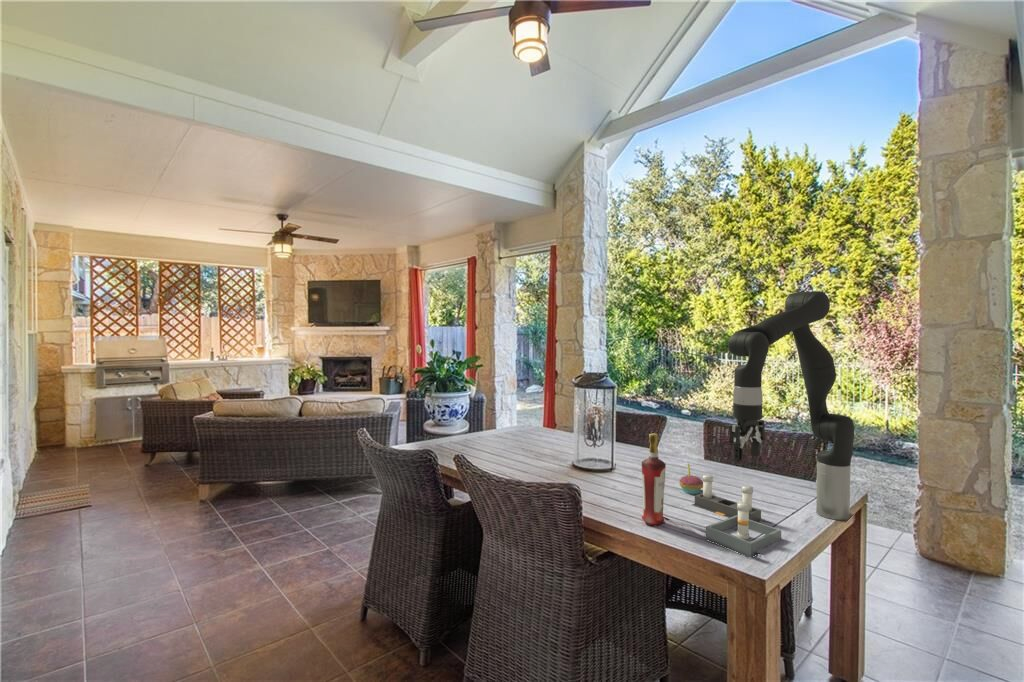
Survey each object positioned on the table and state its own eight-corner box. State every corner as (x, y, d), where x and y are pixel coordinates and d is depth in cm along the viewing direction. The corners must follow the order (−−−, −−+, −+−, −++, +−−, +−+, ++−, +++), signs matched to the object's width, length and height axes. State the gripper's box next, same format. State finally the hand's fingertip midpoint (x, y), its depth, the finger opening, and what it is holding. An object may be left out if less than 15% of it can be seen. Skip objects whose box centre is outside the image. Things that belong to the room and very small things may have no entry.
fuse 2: (745, 515, 158) (745, 484, 157) (754, 519, 155) (755, 487, 155) (739, 518, 156) (739, 486, 156) (749, 521, 153) (749, 489, 153)
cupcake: (674, 493, 184) (674, 461, 184) (692, 490, 187) (692, 459, 187) (690, 500, 176) (690, 467, 176) (709, 497, 179) (709, 464, 179)
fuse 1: (706, 503, 169) (706, 474, 169) (714, 505, 167) (714, 476, 166) (700, 504, 167) (700, 475, 167) (708, 507, 165) (709, 478, 165)
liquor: (646, 516, 161) (647, 431, 160) (668, 522, 156) (669, 434, 156) (637, 523, 155) (637, 434, 155) (659, 529, 151) (660, 438, 150)
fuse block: (705, 504, 172) (705, 491, 172) (764, 524, 155) (764, 509, 155) (690, 509, 168) (691, 496, 168) (750, 530, 150) (750, 515, 150)
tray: (736, 528, 152) (736, 515, 152) (781, 544, 141) (781, 530, 140) (705, 540, 143) (705, 526, 143) (750, 558, 132) (751, 543, 132)
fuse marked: (740, 535, 144) (741, 501, 144) (751, 539, 141) (751, 504, 141) (734, 538, 142) (734, 503, 142) (745, 542, 140) (745, 506, 139)
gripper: (746, 406, 134) (745, 465, 134) (774, 401, 142) (773, 457, 142) (720, 402, 140) (720, 459, 141) (748, 398, 148) (748, 451, 149)
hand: (747, 458), depth 141 cm, fingers open, 8 cm apart
